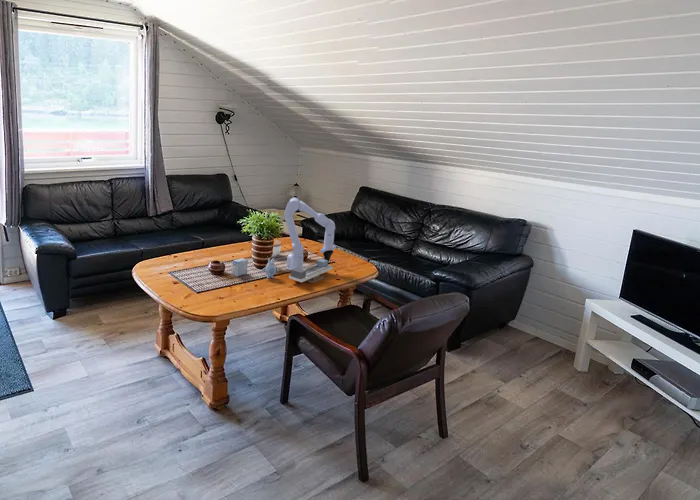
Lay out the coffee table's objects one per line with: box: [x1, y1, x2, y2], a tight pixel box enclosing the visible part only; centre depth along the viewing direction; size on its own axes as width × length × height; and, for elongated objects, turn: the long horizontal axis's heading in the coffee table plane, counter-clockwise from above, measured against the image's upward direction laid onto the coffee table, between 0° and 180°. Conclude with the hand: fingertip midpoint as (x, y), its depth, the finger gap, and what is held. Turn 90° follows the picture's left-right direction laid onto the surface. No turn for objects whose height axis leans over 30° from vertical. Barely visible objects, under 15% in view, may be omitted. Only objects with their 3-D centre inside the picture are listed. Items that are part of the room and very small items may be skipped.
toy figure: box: [261, 257, 280, 279], centre depth 295 cm, size 11×6×12 cm, turn 116°
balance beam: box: [288, 263, 333, 284], centre depth 302 cm, size 11×32×8 cm, turn 150°
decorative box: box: [271, 239, 282, 258], centre depth 335 cm, size 13×13×11 cm
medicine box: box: [231, 257, 249, 277], centre depth 296 cm, size 8×4×9 cm, turn 146°
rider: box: [316, 258, 329, 268], centre depth 310 cm, size 4×5×4 cm
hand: (326, 261), depth 315 cm, fingers closed
